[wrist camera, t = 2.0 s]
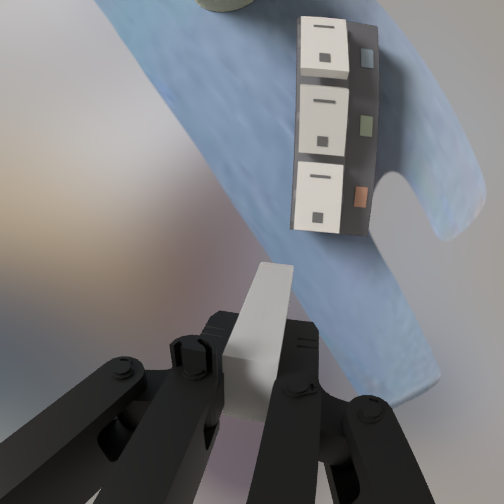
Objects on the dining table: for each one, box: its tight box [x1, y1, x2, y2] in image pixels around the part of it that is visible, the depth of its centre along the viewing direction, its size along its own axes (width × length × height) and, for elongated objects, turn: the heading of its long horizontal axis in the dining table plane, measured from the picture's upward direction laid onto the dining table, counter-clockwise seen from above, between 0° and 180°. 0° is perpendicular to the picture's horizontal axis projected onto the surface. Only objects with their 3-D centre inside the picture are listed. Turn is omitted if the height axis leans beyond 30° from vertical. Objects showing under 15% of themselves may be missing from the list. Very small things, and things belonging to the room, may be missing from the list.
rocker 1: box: [299, 16, 350, 80], centre depth 21 cm, size 6×4×2 cm
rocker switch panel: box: [290, 18, 379, 237], centre depth 27 cm, size 22×8×6 cm, turn 179°
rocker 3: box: [294, 161, 344, 233], centre depth 26 cm, size 6×4×2 cm
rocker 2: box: [297, 84, 349, 156], centre depth 23 cm, size 6×4×2 cm
